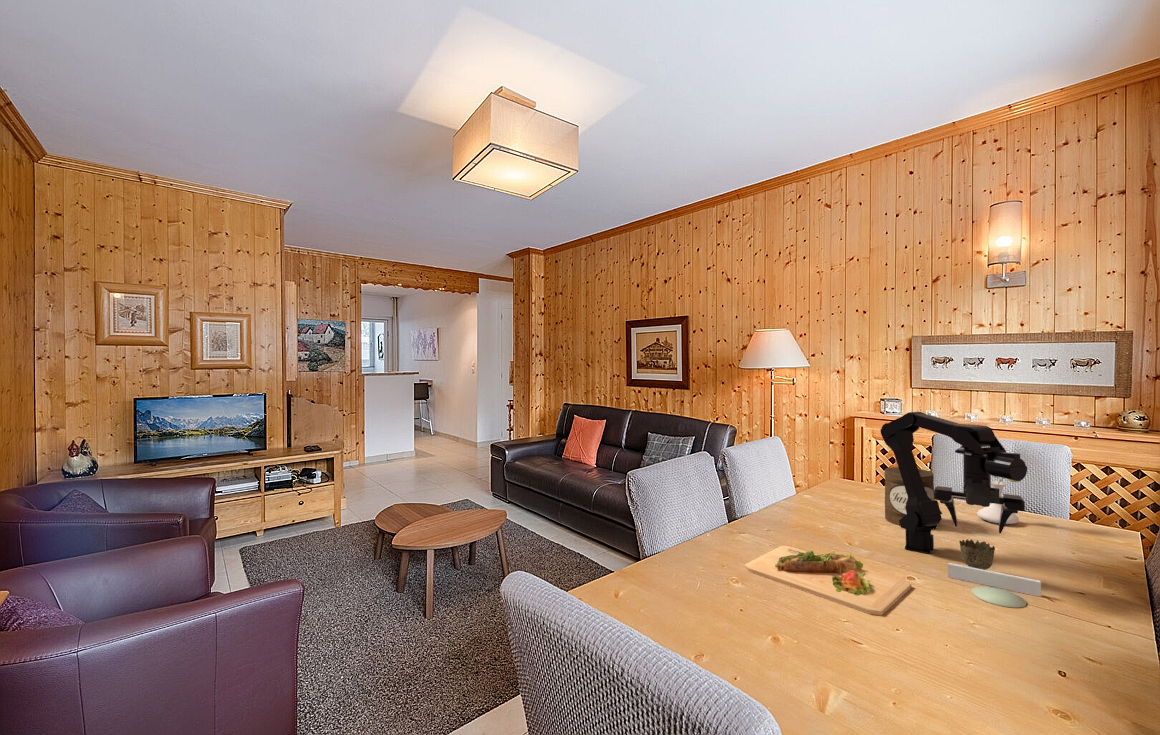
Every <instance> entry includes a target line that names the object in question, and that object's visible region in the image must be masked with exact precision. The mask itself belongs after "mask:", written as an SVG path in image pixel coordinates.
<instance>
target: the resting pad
mask: <svg viewBox="0 0 1160 735" xmlns="http://www.w3.org/2000/svg"><path fill="white" fill-rule="evenodd" d="M971 593H972V595H973V596H974V597H975V598H977V599H979V600H981V601H983V602H985V603H989V604H991V605H995V606H999V607H1003V608H1011V609H1012V608H1013V609H1019V608H1020V609H1022V608H1024V607H1026V606H1027V601H1026V600H1025V599H1024V598H1023V597H1021V596H1020V595H1018V594H1016V593H1014V592H1011V591H1010V590H1006V589H1002V588H997V587H992V586H976V587H972V588H971Z"/></svg>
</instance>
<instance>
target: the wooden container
mask: <svg viewBox="0 0 1160 735" xmlns="http://www.w3.org/2000/svg"><path fill="white" fill-rule="evenodd" d="M918 470H919V473H920V476H921V479H922V482H923V485H924V488H925V491H926V494H927V496H928V497H929V498H930V499H931V500H932V501H933V500H935V499H934V490H935V485H934V484H935V483H934V473H933V472H931V471H930V470H926V469H923V468H922V469H921V468H918ZM907 499H908V496H907V492H906V489H905V486H904V483H903V480H902V477H901V474H900V471H899V467H898V466H893V467H887V468H884V518H885V520H886V521H887V522H889V523H892V524H894V525H898V526H900V523H899V520H900V519H902V518H903V517H904V516H905V515H907V513H906V503H907Z"/></svg>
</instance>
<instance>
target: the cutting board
mask: <svg viewBox="0 0 1160 735" xmlns="http://www.w3.org/2000/svg"><path fill="white" fill-rule="evenodd" d="M744 569H745V570H747V572H749V573H751V574H754V575H757V576H760V577H763V578H766V579H769V580H771V581H774V582H776V583H777V582H778V583H780V584H783V585H785V586H789V587H790V588H794V589H797V590H799V591H802V592H806V593H809V594H811V595H814V596H817V597H820V598H823V599H825V600H828V601H830V602H832V603H833V602H834V603H837V604H840V605H842V606H845V607H848V608H849V609H850V608H851V609H854V610H857V611H860V612H862V613H865V614H868V615H875V616H883V615H884V614H885V613H886V612H887V611H888V610H889V609H890V608H891V607H892V606H893V605H895V604H896V602H898V601H899V600H900V599H901V598H903V596H905V594H907V592H908V591H910V589H911V588H912V583H911V582H910V581H908V580H906V579H905V578H901V577H898V576H895V575H891V574H887V573H885V572H884V573H883V572H882V571H881V572H880V571H877V570H873V569H870V568H866V567H864V564H863V563H862V561H860V560H857V559H856V558H855V556H852V554H849V553H844V554H841V553H840V554H839V553H835V552H828V553H824V554H817V553H814V550H812V549H810V548H809V549H808V550H806V549H805V550H803V549H800V548H797V547H793V546H789V545H780V546H777V547H776V548H774V549H772V550H770V551H767V552H766V553H764V554H762V555H760V556H759V557H756V558H754V559H753V560H751V561H749V562H747V563H745V564H744Z"/></svg>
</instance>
